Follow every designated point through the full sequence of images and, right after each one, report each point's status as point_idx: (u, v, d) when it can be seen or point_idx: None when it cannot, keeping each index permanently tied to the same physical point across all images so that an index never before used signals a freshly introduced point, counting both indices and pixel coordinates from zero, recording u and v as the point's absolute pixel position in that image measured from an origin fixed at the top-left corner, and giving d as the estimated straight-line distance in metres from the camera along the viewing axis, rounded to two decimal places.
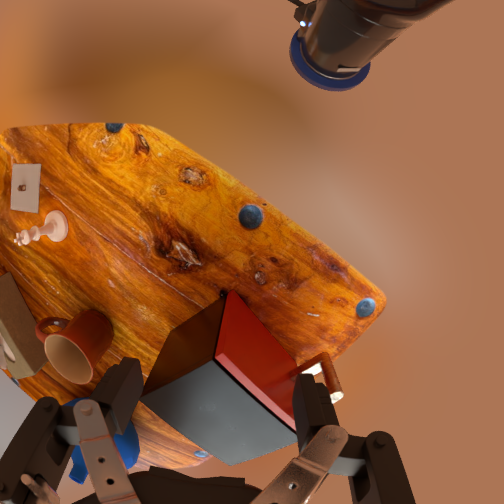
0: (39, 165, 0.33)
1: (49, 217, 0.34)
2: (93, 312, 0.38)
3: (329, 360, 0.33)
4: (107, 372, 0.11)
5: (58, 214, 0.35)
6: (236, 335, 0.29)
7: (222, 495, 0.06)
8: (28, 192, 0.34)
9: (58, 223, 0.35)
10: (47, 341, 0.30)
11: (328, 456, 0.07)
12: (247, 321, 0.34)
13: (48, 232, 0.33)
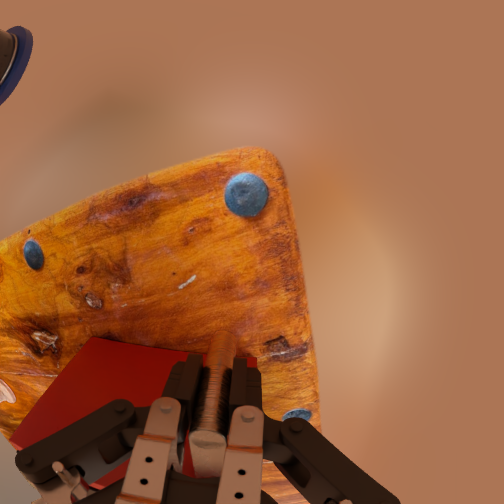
0: None
1: None
2: None
3: (214, 347, 0.15)
4: (173, 369, 0.12)
5: None
6: (54, 404, 0.14)
7: None
8: None
9: (0, 388, 0.26)
10: None
11: (254, 435, 0.08)
12: (100, 368, 0.19)
13: None
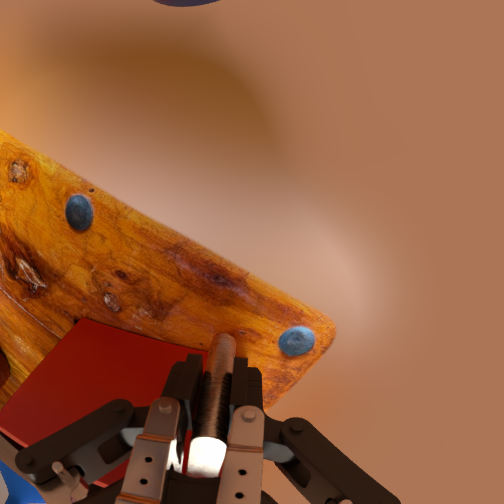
0: None
1: None
2: None
3: (216, 350, 0.15)
4: (172, 369, 0.12)
5: None
6: (41, 387, 0.13)
7: None
8: None
9: None
10: None
11: (255, 435, 0.08)
12: (89, 353, 0.19)
13: None
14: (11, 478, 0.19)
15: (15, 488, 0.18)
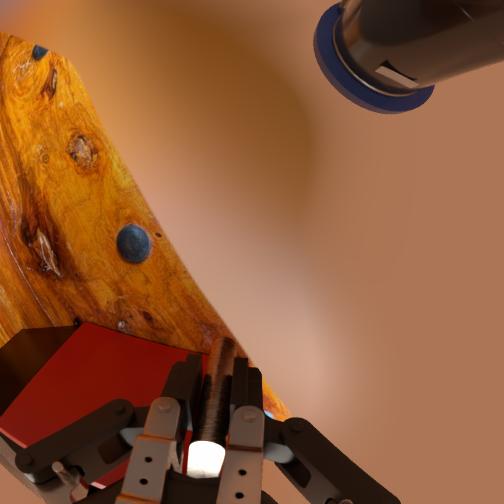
0: None
1: None
2: None
3: (216, 355, 0.15)
4: (172, 369, 0.12)
5: None
6: (43, 390, 0.14)
7: None
8: None
9: None
10: None
11: (255, 435, 0.08)
12: (92, 357, 0.19)
13: None
14: None
15: None
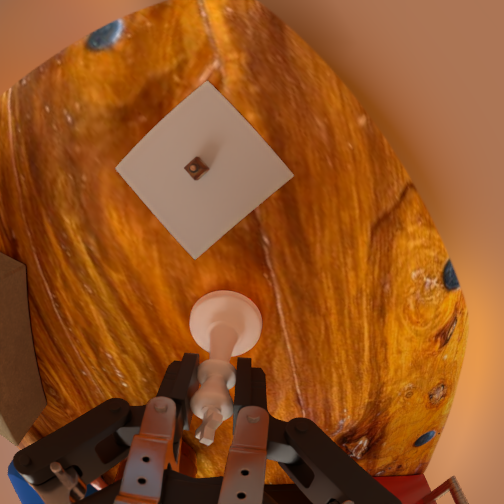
0: (287, 173, 0.16)
1: (231, 309, 0.17)
2: (187, 451, 0.21)
3: (456, 485, 0.18)
4: (169, 369, 0.12)
5: (257, 321, 0.18)
6: None
7: None
8: (201, 189, 0.16)
9: (245, 336, 0.18)
10: None
11: (259, 435, 0.08)
12: None
13: None
14: None
15: None
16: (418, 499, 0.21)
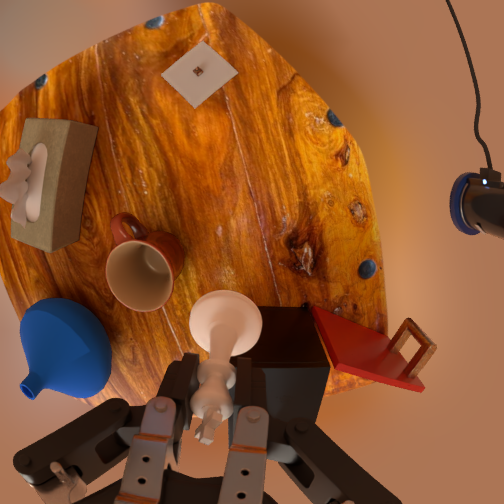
0: (235, 72, 0.33)
1: (231, 309, 0.17)
2: (179, 242, 0.38)
3: (413, 323, 0.35)
4: (169, 369, 0.12)
5: (257, 321, 0.18)
6: (339, 342, 0.33)
7: None
8: (199, 80, 0.33)
9: (245, 336, 0.18)
10: (127, 243, 0.29)
11: (259, 436, 0.08)
12: (338, 326, 0.38)
13: None
14: (56, 359, 0.31)
15: (53, 371, 0.30)
16: (381, 345, 0.38)
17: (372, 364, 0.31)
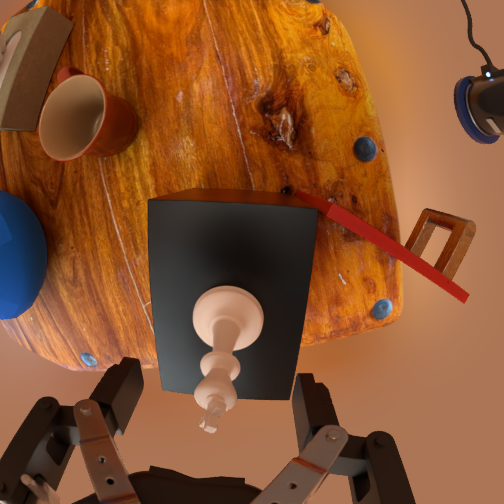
0: None
1: (233, 304, 0.18)
2: (131, 107, 0.27)
3: None
4: (107, 372, 0.11)
5: (259, 316, 0.18)
6: None
7: (222, 495, 0.06)
8: None
9: (247, 330, 0.18)
10: (68, 82, 0.19)
11: (328, 456, 0.07)
12: None
13: None
14: None
15: None
16: None
17: None
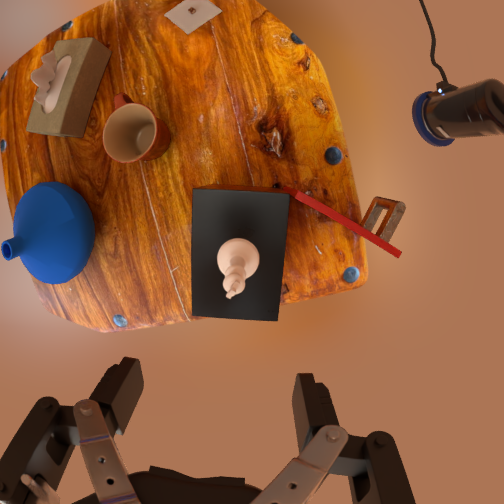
0: (220, 10, 0.36)
1: (242, 248, 0.32)
2: None
3: None
4: (107, 372, 0.11)
5: (256, 255, 0.32)
6: None
7: (222, 495, 0.06)
8: (192, 16, 0.37)
9: (249, 264, 0.32)
10: (125, 107, 0.33)
11: (328, 456, 0.07)
12: None
13: None
14: (42, 225, 0.34)
15: (36, 235, 0.33)
16: None
17: None
